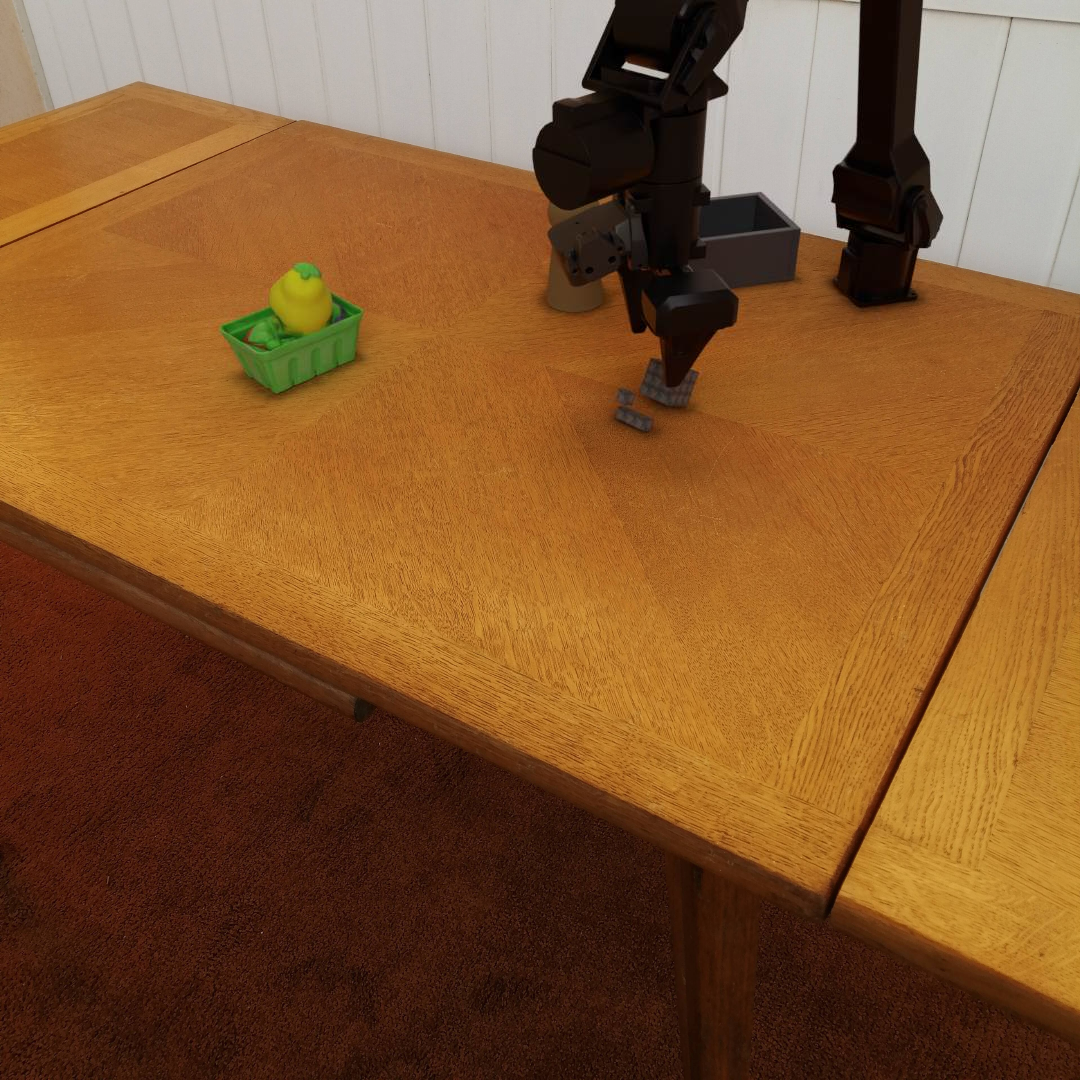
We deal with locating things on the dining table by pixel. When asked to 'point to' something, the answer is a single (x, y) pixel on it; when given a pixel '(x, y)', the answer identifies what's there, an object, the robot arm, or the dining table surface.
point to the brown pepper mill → (558, 285)
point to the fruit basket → (295, 331)
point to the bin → (747, 240)
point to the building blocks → (654, 395)
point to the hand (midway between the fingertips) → (654, 358)
